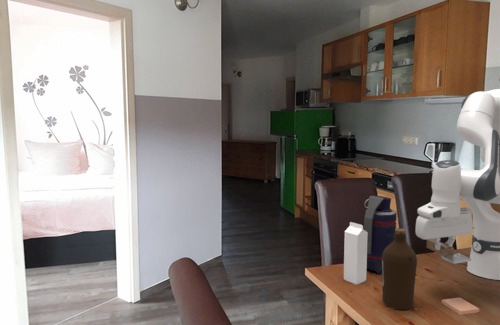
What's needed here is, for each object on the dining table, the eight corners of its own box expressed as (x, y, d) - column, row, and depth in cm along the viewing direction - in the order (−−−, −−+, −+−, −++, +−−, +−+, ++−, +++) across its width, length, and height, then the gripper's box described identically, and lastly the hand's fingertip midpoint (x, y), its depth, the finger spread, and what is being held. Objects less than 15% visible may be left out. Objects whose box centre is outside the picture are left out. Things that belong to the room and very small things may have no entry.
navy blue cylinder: (376, 261, 162) (378, 192, 159) (400, 270, 152) (403, 197, 149) (354, 268, 154) (355, 196, 151) (378, 278, 144) (380, 201, 141)
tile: (459, 297, 126) (479, 308, 118) (459, 301, 126) (479, 313, 119) (441, 299, 125) (460, 311, 117) (441, 304, 125) (460, 316, 117)
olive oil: (419, 302, 125) (422, 228, 123) (408, 314, 117) (411, 236, 115) (387, 292, 132) (390, 223, 130) (375, 304, 124) (377, 230, 122)
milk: (353, 275, 147) (354, 220, 145) (366, 280, 142) (368, 223, 140) (343, 279, 144) (344, 223, 141) (356, 285, 139) (357, 226, 137)
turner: (437, 246, 136) (438, 237, 136) (471, 261, 122) (471, 252, 121) (420, 248, 134) (421, 240, 134) (452, 263, 120) (453, 254, 120)
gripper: (463, 204, 132) (462, 242, 134) (413, 209, 127) (411, 248, 129) (478, 208, 126) (476, 248, 128) (426, 214, 121) (424, 255, 123)
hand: (443, 248), depth 128 cm, fingers closed on turner, 2 cm apart
